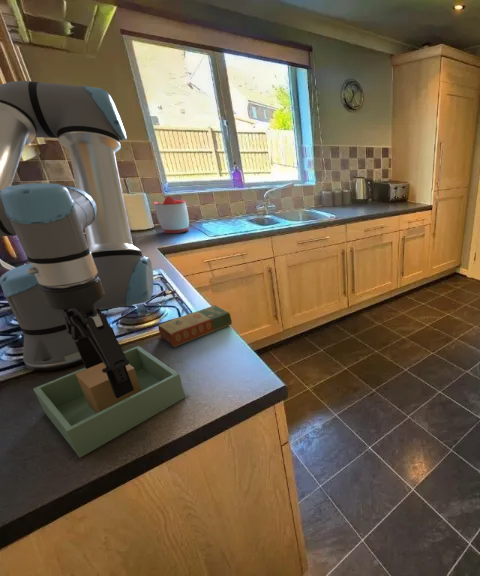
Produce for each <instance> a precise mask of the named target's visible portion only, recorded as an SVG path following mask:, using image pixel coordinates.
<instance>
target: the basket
mask: <svg viewBox="0 0 480 576" xmlns="http://www.w3.org/2000/svg"><path fill="white" fill-rule="evenodd" d="M123 353H124V354H125V356H126V358H127V360H128V361H129V365H131V366H132V367H133V368H134V369H135V372H136V375H137V378H138V381H139V384H140V387H141V390H142V391H140V392H138V393H136V394H134V395H132V396H130V397H128V398H126V399H124V400H122V401H120V402H118V403H116V404H114V405H112V406H110V407H108V408H106V409H104V410H103V411H101V412H99V413H97V414H96V413H95V412H94V411H93V410H92V409H91V408H90V407H89V405H88V402H87V400H86V398H85V396H84V393H83V391H82V389H81V386H80V384H79V382H78V379H77V377H76V375H75V374H76V373H78V372H81V371H83V370H86V368H85V367H83V368H80V369H78V370H75V371H73V372H70V373H68V374H65V375H64V376H61V377H58V378H56V379H53V380H51V381H48V382H46V383H44V384H41V385H38V386H36V387H33V388H32V389H33V392H34V394H35V396H36V398H37V399H38V402H39V404H40V405H41V407H42V410H43V412H44V414H45V415H46V417H48V419H49V420H50V421H51V422H52V424H53V425H54V427H55V428H56V429H57V431H58V432H59V433H60V434H61V436H62V437H63V438H64V439H65V441H66V443H68V444H69V446H70V447H71V449H72V450H73V451H74V452H75V454H76V455H77V457H79V458H82V457H84V456H86V455H88V454H89V453H91V452H93V451H95V450H96V449H98V448H100V447H101V446H103V445H105V444H106V443H109V442H110V441H112V440H113V439H116V438H117V437H119V436H121V435H123V434H124V433H126V432H127V431H130V430H131V429H133V428H135V427H136V426H138V425H140V424H141V423H143V422H145V421H147V420H149V419H150V418H152V417H153V416H156V415H157V414H159V413H161V412H162V411H164V410H166V409H168V408H170V407H171V406H173V405H175V404H177V403H179V402H180V401H182V400H183V399H185V398H186V394H185V391H184V387H183V384H182V383H183V382H182V379H181V377H180V374H179V373H178V372H176V371H175V370H174V369H173V368H171V367H169V366H168V365H166V363H164V362H162V361H161V360H159V359H158V358H157V357H155V356H154V355H152V354H151V353H150V352H148V351H147V350H145V349H144V348H142V347H141V346H139V345H137V346H134V347H131V348H129V349H126V350H123Z"/></svg>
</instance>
